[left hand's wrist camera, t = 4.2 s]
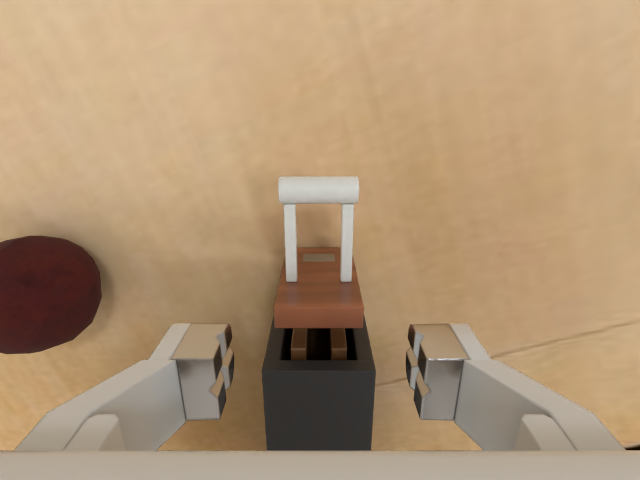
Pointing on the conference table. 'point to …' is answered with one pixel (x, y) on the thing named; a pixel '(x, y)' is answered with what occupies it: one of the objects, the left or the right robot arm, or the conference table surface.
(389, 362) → the conference table surface
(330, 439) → the cabinet
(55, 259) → the dark red rounded ball
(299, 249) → the drawer
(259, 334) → the conference table surface
